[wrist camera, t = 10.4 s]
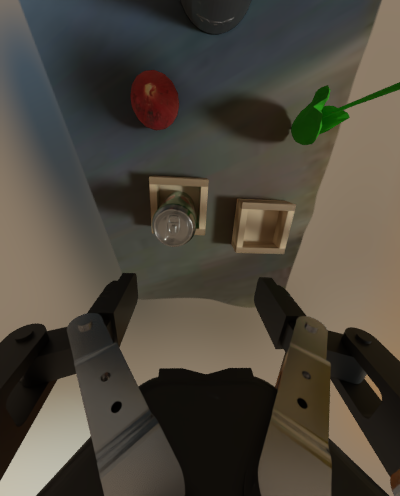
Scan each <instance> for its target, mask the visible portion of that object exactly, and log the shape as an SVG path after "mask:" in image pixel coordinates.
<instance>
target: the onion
mask: <svg viewBox="0 0 400 496" xmlns="http://www.w3.org/2000/svg"><path fill="white" fill-rule="evenodd" d="M130 97H131V104H132V108H133V110H134V112H135V114H136V116H137V118H138V119H139V120H140V121H141V122H142V123H143V124H144V125H145V126H146V127H148V128H151V129H154V130H162V129H166V128H167V127H168V126H170V125H171V124H172V123H173V122H174V120H175V118H176V116H177V114H178V108H179V100H178V93H177V91H176V89H175V87H174V84H173V83H172V81H171V80H170V79H169V78H168V77H167V76H166V75H164V74H163V73H160V72H158V71H155V70H149V71H144V72H142V73H141V74H139V75H138V76H137V77H136V78H135V80H134V82H133V84H132V88H131V96H130Z"/></svg>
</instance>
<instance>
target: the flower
mask: <svg viewBox="0 0 400 496" xmlns="http://www.w3.org/2000/svg"><path fill="white" fill-rule="evenodd" d="M399 89H400V82H399V83H397V84H394V85H392V86H390V87H387V88H385V89H383V90H380V91H378V92H375V93H373V94H371V95H368V96H366V97H364V98H362V99H359V100H357V101H354V102H352V103H349V104H347V105H345V106H342V107H340V108H336V107H334V106H324V105H325V103H326V101H327V100H328V98H329V95H330V89H329V87H328V85H327V86H324V87H322V88H320V89H318V91H317V92H316V93H315V96H314V98H313V100H312V102H311V103H310V104H309V105H308V106H307V107H306V108H305V109H303V110H302V111H301V112H300V114H299V115H298V116H297V117H296V119H295V121H294V122H293V124H292V127H291V133H292V136H293V138H294V140H295V141H296V142H297V143H300V144H302V145H308V144H312V143H313V142H314V141H315V140H316V138H317V137H318V135H319V134H321V133H324V132H326V131H328V130H330V129H331V128H333V127H335V126H336V125H338V124H339V123H341V122H343V121H344V120H346V119H348V118H349V115H348V113H347V112H345V111H343V110H344V109H347V108H349V107H352V106H354V105H357V104H360V103H363V102H366V101H368V100H371V99H374V98H377V97H379V96H383V95H385V94H388V93H391V92H394V91H397V90H399ZM323 106H324V107H323Z"/></svg>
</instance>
